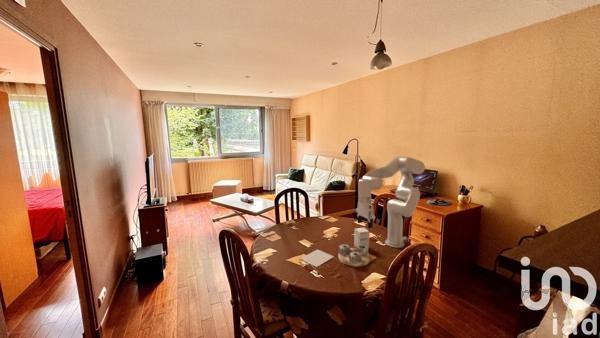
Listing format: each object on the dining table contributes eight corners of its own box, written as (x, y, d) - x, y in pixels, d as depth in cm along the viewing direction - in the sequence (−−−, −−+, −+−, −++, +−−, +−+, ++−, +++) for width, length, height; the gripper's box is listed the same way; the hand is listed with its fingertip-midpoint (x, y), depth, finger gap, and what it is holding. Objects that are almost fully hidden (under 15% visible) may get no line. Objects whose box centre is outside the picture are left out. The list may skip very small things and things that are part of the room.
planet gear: (362, 249, 154) (363, 243, 154) (370, 254, 148) (370, 248, 147) (354, 251, 151) (354, 245, 151) (361, 256, 145) (361, 250, 144)
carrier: (356, 248, 160) (356, 238, 159) (376, 261, 143) (376, 250, 142) (332, 254, 152) (332, 244, 151) (350, 269, 135) (350, 258, 134)
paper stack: (346, 263, 143) (346, 261, 142) (319, 281, 125) (319, 280, 125) (317, 250, 159) (317, 249, 159) (289, 264, 142) (289, 263, 142)
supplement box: (359, 250, 157) (359, 232, 155) (353, 245, 164) (354, 228, 162) (369, 249, 159) (369, 231, 157) (363, 244, 166) (363, 227, 164)
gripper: (379, 201, 140) (379, 228, 142) (360, 194, 155) (360, 219, 158) (369, 203, 137) (369, 231, 139) (351, 196, 152) (351, 222, 155)
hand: (365, 225), depth 148 cm, fingers open, 9 cm apart
